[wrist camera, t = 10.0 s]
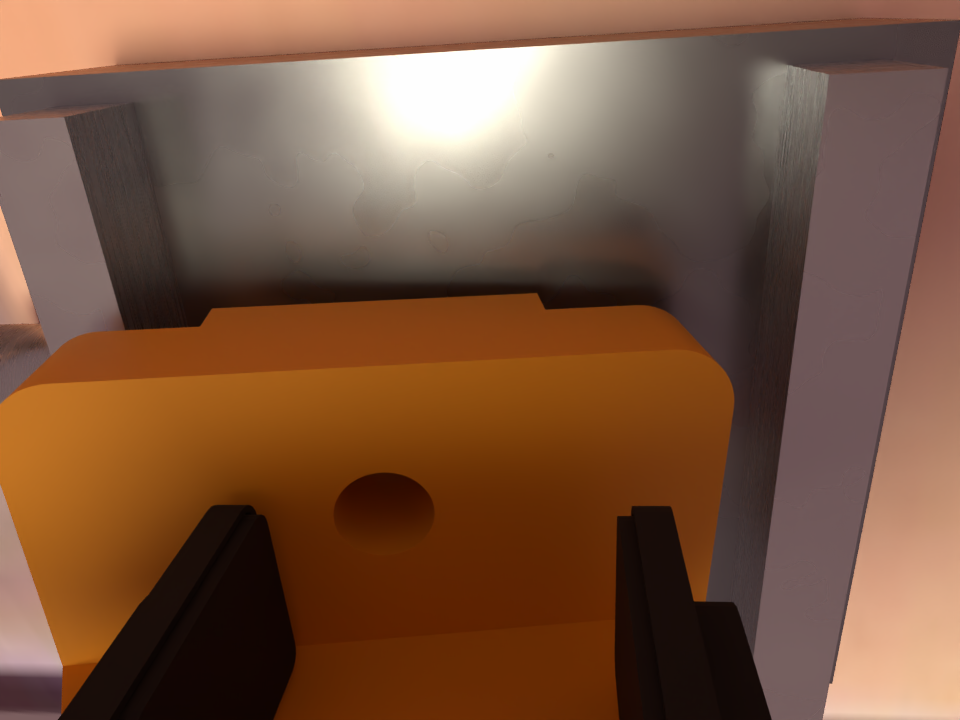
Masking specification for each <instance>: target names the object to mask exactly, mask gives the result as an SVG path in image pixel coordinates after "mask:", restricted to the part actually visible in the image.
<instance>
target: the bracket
mask: <svg viewBox="0 0 960 720" xmlns="http://www.w3.org/2000/svg"><path fill="white" fill-rule="evenodd" d="M733 410H734V391H733V387H732V384H731V381H730V379H729V377H728V375H727V374H726V372H725V371H724V370H723V368H722V367H721V366H720V365H719V364H718V363H717V362H716V361H715V360H714V359H713V357H712V356H711V355H710V354H709V353H708V352H707V351H706V350H705V349H704V348H703V347H702V346H701V345H700V344H699V342H698V341H697V340H696V339H695V338H694V337H693V336H692V335H691V334H690V333H689V332H688V331H687V330H686V328H685V327H684V326H683V325H682V324H681V323H680V322H679V321H678V320H677V319H676V318H675V317H674V316H672V315H671V314H669V313H668V312H666V311H664V310H662V309H659V308H656V307H652V306H646V305H629V306H609V307H589V308H568V309H548V310H545V308H544V306H543V304H542V302H541V300H540V298H539V296H538V294H537V293H528V294H507V295H486V296H465V297H444V298H423V299H402V300H380V301H359V302H338V303H317V304H296V305H275V306H254V307H232V308H212V309H211V311H210V312H209V314H208V315H207V317H206V318H205V320H204V321H203V323H202V324H201V326H200V327H182V328H162V329H142V330H121V331H101V332H91V333H86V334H83V335H79V336H77V337H75V338H72V339H71V340H69V341H67V342H66V343H64V344H63V345H62V346H61V347H60V348H59V349H58V350H57V351H56V352H55V353H53V354H52V355H51V356H50V357H49V358H48V359H47V360H46V361H45V362H44V363H43V364H42V365H41V366H40V367H39V368H38V369H37V370H36V371H35V372H33V373H32V374H31V375H30V376H29V377H28V378H27V379H26V380H25V381H24V382H23V383H22V384H21V385H20V386H19V387H18V388H17V389H16V390H15V391H13V392H12V393H11V394H10V395H9V396H8V397H7V398H6V399H5V400H4V401H3V402H2V403H1V404H0V484H1V487H2V490H3V493H4V496H5V499H6V502H7V505H8V508H9V510H10V513H11V516H12V519H13V522H14V525H15V528H16V531H17V534H18V537H19V540H20V543H21V545H22V548H23V551H24V554H25V557H26V560H27V563H28V566H29V569H30V572H31V575H32V578H33V581H34V583H35V586H36V589H37V592H38V595H39V598H40V601H41V604H42V607H43V610H44V613H45V616H46V618H47V621H48V624H49V627H50V630H51V633H52V636H53V639H54V642H55V645H56V648H57V651H58V653H59V656H60V659H61V662H62V665H63V677H62V712H61V715H62V713H63V712H64V710H65V709H66V708H67V706H68V705H69V703H70V702H71V701H72V699H73V698H74V696H75V695H76V693H77V692H78V691H79V689H80V688H81V686H82V685H83V683H84V682H85V681H86V679H87V678H88V676H89V675H90V674H91V672H92V671H93V669H94V668H95V666H96V665H97V664H98V662H99V661H100V659H101V658H102V656H103V655H104V654H105V652H106V651H107V649H108V648H109V647H110V645H111V644H112V642H113V641H114V639H115V638H116V637H117V635H118V634H119V632H120V631H121V629H122V628H123V627H124V625H125V624H126V622H127V621H128V620H129V618H130V617H131V615H132V614H133V612H134V611H135V610H136V608H137V607H138V605H139V604H140V603H141V602H142V601H143V600H144V599H145V597H146V596H148V595H149V593H150V592H151V590H152V589H153V588H154V586H155V585H156V583H157V582H158V580H159V579H160V578H161V576H162V575H163V573H164V572H165V570H166V569H167V568H168V566H169V565H170V563H171V562H172V560H173V559H174V557H175V556H176V555H177V553H178V552H179V550H180V549H181V547H182V546H183V545H184V543H185V542H186V540H187V539H188V537H189V536H190V535H191V533H192V532H193V530H194V529H195V527H196V526H197V525H198V523H199V522H200V520H201V519H202V517H203V516H204V515H205V513H206V512H207V510H208V509H209V508H210V507H211V506H213V505H251V506H253V508H254V509H255V511H256V514H257V515H264V516H265V517H266V519H267V522H268V526H269V531H270V535H271V539H272V544H273V548H274V552H275V557H276V561H277V566H278V570H279V574H280V579H281V583H282V587H283V592H284V596H285V601H286V605H287V609H288V614H289V618H290V622H291V627H292V631H293V635H294V640H295V645H296V658H295V664H294V668H293V671H292V674H291V676H290V679H289V682H288V684H287V687H286V689H285V692H284V694H283V697H282V699H281V702H280V704H279V707H278V709H277V712H276V714H275V717H274V719H273V720H619V711H618V700H617V689H616V677H615V599H616V540H617V516H631V508H632V506H671V508H672V511H673V515H674V519H675V523H676V527H677V532H678V536H679V540H680V544H681V549H682V553H683V557H684V561H685V566H686V570H687V574H688V578H689V583H690V587H691V591H692V595H693V600H694V601H706V595H707V588H708V582H709V575H710V568H711V561H712V554H713V547H714V540H715V534H716V527H717V520H718V513H719V506H720V499H721V493H722V486H723V479H724V472H725V465H726V458H727V451H728V445H729V438H730V431H731V424H732V417H733Z"/></svg>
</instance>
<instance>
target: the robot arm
mask: <svg viewBox="0 0 960 720" xmlns="http://www.w3.org/2000/svg"><path fill="white" fill-rule="evenodd" d="M295 658H296V645H295V640H294V635H293V631H292V627H291V622H290V618H289V614H288V609H287V605H286V601H285V596H284V592H283V587H282V583H281V579H280V574H279V570H278V566H277V561H276V557H275V552H274V548H273V544H272V539H271V535H270V531H269V526H268V522H267V519H266V517H265V516H264V515H257V514H256V511H255V509H254V508H253V506H251V505H213V506H211V507H210V508H209V509H208V510H207V512H206V513H205V515H204V516H203V517H202V519H201V520H200V522H199V523H198V525H197V526H196V527H195V529H194V530H193V532H192V533H191V535H190V536H189V537H188V539H187V540H186V542H185V543H184V545H183V546H182V547H181V549H180V550H179V552H178V553H177V555H176V556H175V557H174V559H173V560H172V562H171V563H170V565H169V566H168V568H167V569H166V570H165V572H164V573H163V575H162V576H161V578H160V579H159V580H158V582H157V583H156V585H155V586H154V588H153V589H152V590H151V592H150V593H149V595H148V596H146V597H145V599H144V600H143V601H142V602H141V603H140V604H139V605H138V607H137V608H136V610H135V611H134V612H133V614H132V615H131V617H130V618H129V620H128V621H127V622H126V624H125V625H124V627H123V628H122V629H121V631H120V632H119V634H118V635H117V637H116V638H115V639H114V641H113V642H112V644H111V645H110V647H109V648H108V649H107V651H106V652H105V654H104V655H103V656H102V658H101V659H100V661H99V662H98V664H97V665H96V666H95V668H94V669H93V671H92V672H91V674H90V675H89V676H88V678H87V679H86V681H85V682H84V683H83V685H82V686H81V688H80V689H79V691H78V692H77V693H76V695H75V696H74V698H73V699H72V701H71V702H70V703H69V705H68V706H67V708H66V709H65V710H64V712H63V713H62V715H61V716H60V718H59V719H58V720H273V719H274V717H275V714H276V712H277V709H278V707H279V704H280V702H281V699H282V697H283V694H284V692H285V689H286V687H287V684H288V682H289V679H290V676H291V674H292V671H293V668H294V664H295ZM615 677H616V689H617V700H618V711H619V720H772V718H771V715H770V712H769V708H768V705H767V702H766V699H765V695H764V692H763V689H762V685H761V682H760V679H759V676H758V672H757V669H756V666H755V663H754V659H753V656H752V653H751V650H750V646H749V643H748V640H747V636H746V633H745V630H744V627H743V623H742V620H741V617H740V614H739V611H738V609H737V606H736V605H735V604H734V602H707V601H694V600H693V595H692V591H691V587H690V583H689V578H688V574H687V570H686V566H685V561H684V557H683V553H682V549H681V544H680V540H679V536H678V532H677V527H676V523H675V519H674V515H673V511H672V508H671V506H632V508H631V516H617V540H616V599H615Z"/></svg>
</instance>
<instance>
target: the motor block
mask: <svg viewBox="0 0 960 720" xmlns="http://www.w3.org/2000/svg"><path fill="white" fill-rule="evenodd" d="M959 33H960V20H938V19H884V18H857V19H841V20H825V21H809V22H793V23H778V24H762V25H746V26H730V27H714V28H699V29H683V30H667V31H651V32H635V33H619V34H604V35H588V36H572V37H556V38H540V39H524V40H509V41H493V42H477V43H461V44H445V45H430V46H414V47H398V48H382V49H366V50H350V51H335V52H319V53H303V54H287V55H271V56H255V57H240V58H224V59H208V60H192V61H176V62H161V63H145V64H129V65H114V66H105V67H97V68H89V69H80V70H72V71H64V72H55V73H47V74H39V75H30V76H22V77H14V78H6V79H0V109H1V112H2V115H3V117H0V206H1V209H2V212H3V215H4V218H5V221H6V224H7V227H8V229H9V232H10V235H11V238H12V241H13V244H14V247H15V250H16V253H17V256H18V259H19V262H20V265H21V268H22V271H23V274H24V277H25V280H26V283H27V286H28V289H29V292H30V295H31V298H32V301H33V304H34V307H35V310H36V313H37V315H38V318H39V321H40V324H0V404H1V403H2V402H3V401H4V400H5V399H6V398H7V397H8V396H9V395H10V394H11V393H12V392H13V391H15V390H16V389H17V388H18V387H19V386H20V385H21V384H22V383H23V382H24V381H25V380H26V379H27V378H28V377H29V376H30V375H31V374H32V373H33V372H35V371H36V370H37V369H38V368H39V367H40V366H41V365H42V364H43V363H44V362H45V361H46V360H47V359H48V358H49V357H50V356H51V355H52V354H53V353H55V352H56V351H57V350H58V349H59V348H60V347H61V346H62V345H63V344H64V343H66V342H67V341H69V340H71V339H72V338H75V337H77V336H79V335H83V334H86V333H91V332H101V331H121V330H142V329H162V328H182V327H200V326H201V324H202V323H203V321H204V320H205V318H206V317H207V315H208V314H209V312H210V311H211V309H212V308H232V307H254V306H275V305H296V304H317V303H338V302H359V301H380V300H402V299H423V298H444V297H465V296H486V295H507V294H528V293H537V294H538V296H539V298H540V300H541V302H542V304H543V306H544V308H545V310H548V309H568V308H589V307H609V306H629V305H646V306H652V307H656V308H659V309H662V310H664V311H666V312H668V313H669V314H671V315H672V316H674V317H675V318H676V319H677V320H678V321H679V322H680V323H681V324H682V325H683V326H684V327H685V328H686V330H687V331H688V332H689V333H690V334H691V335H692V336H693V337H694V338H695V339H696V340H697V341H698V342H699V344H700V345H701V346H702V347H703V348H704V349H705V350H706V351H707V352H708V353H709V354H710V355H711V356H712V357H713V359H714V360H715V361H716V362H717V363H718V364H719V365H720V366H721V367H722V368H723V370H724V371H725V372H726V374H727V375H728V377H729V379H730V381H731V384H732V387H733V391H734V410H733V417H732V424H731V431H730V438H729V445H728V451H727V458H726V465H725V472H724V479H723V486H722V493H721V499H720V506H719V513H718V520H717V527H716V534H715V540H714V547H713V554H712V561H711V568H710V575H709V582H708V588H707V595H706V601H707V602H734V604H735V605H736V606H737V609H738V611H739V614H740V617H741V620H742V623H743V627H744V630H745V633H746V636H747V640H748V643H749V646H750V650H751V653H752V656H753V659H754V663H755V666H756V669H757V672H758V676H759V679H760V682H761V685H762V689H763V692H764V695H765V699H766V702H767V705H768V708H769V712H770V715H771V718H772V720H822V719H823V714H824V708H825V703H826V698H827V693H828V688H829V683H830V684H832V681H833V676H834V671H835V666H836V661H837V656H838V651H839V646H840V641H841V635H842V630H843V625H844V620H845V615H846V610H847V605H848V600H849V595H850V589H851V584H852V579H853V574H854V569H855V564H856V559H857V554H858V549H859V543H860V538H861V533H862V528H863V523H864V518H865V513H866V508H867V503H868V498H869V492H870V487H871V482H872V477H873V472H874V467H875V462H876V457H877V452H878V446H879V441H880V436H881V431H882V426H883V421H884V416H885V411H886V406H887V400H888V395H889V390H890V385H891V380H892V375H893V370H894V365H895V360H896V355H897V349H898V344H899V339H900V334H901V329H902V324H903V319H904V314H905V309H906V303H907V298H908V293H909V288H910V283H911V278H912V273H913V268H914V263H915V257H916V252H917V247H918V242H919V237H920V232H921V227H922V222H923V217H924V211H925V206H926V201H927V196H928V191H929V186H930V181H931V176H932V171H933V166H934V160H935V155H936V150H937V145H938V140H939V135H940V130H941V125H942V120H943V114H944V109H945V104H946V99H947V94H948V89H949V84H950V79H951V74H952V68H953V63H954V58H955V53H956V48H957V43H958V38H959Z"/></svg>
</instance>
